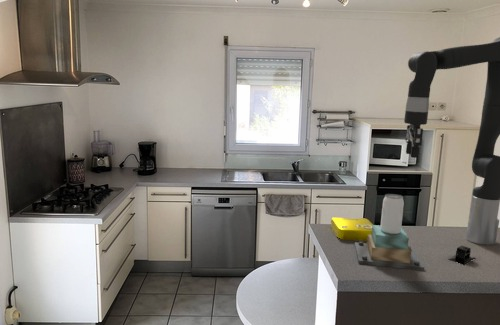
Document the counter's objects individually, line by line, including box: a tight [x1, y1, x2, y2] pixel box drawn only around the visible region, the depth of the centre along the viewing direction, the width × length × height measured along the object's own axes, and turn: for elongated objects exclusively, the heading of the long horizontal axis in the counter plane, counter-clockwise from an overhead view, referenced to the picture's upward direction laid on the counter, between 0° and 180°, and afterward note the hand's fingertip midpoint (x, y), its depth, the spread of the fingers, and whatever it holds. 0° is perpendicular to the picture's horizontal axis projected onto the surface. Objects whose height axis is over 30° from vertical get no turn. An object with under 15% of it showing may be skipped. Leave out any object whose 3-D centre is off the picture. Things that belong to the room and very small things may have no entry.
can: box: [380, 193, 405, 234], centre depth 135 cm, size 6×6×12 cm
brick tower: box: [353, 224, 425, 271], centre depth 137 cm, size 20×16×9 cm
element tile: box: [330, 216, 374, 242], centre depth 159 cm, size 15×15×5 cm
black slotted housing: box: [447, 245, 474, 266], centre depth 138 cm, size 12×7×5 cm, turn 129°
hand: (411, 155), depth 148 cm, fingers open, 8 cm apart
